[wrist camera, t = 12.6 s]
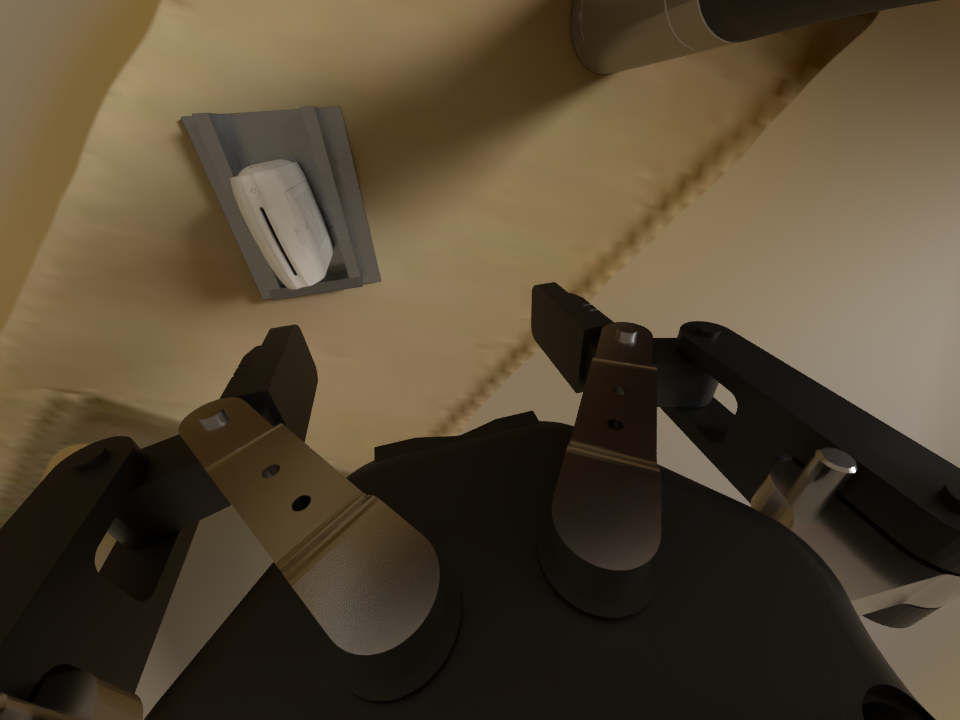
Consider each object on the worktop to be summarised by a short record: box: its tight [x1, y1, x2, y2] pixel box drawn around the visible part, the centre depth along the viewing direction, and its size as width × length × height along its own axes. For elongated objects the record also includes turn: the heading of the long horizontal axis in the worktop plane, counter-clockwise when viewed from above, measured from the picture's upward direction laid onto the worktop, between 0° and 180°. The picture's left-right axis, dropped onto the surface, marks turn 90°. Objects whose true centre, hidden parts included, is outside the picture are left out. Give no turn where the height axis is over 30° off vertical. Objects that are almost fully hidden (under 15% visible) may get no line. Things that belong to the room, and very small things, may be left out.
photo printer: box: [230, 159, 334, 289], centre depth 33 cm, size 10×4×12 cm, turn 10°
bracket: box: [181, 106, 381, 300], centre depth 37 cm, size 14×18×4 cm
